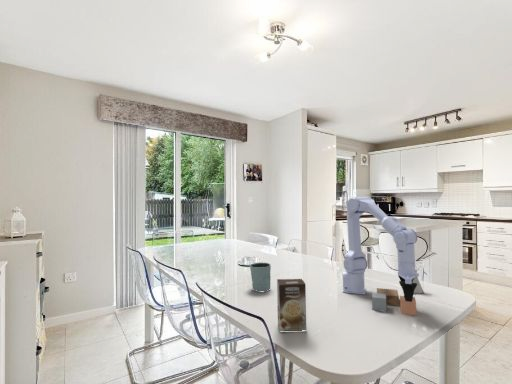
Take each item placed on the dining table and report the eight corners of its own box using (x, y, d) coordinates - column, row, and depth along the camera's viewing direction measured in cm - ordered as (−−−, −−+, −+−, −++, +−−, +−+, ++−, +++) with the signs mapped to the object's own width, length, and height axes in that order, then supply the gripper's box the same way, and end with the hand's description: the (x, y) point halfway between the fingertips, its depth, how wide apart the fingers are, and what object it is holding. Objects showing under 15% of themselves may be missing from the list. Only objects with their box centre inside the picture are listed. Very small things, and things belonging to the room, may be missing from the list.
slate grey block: (372, 309, 109) (371, 297, 109) (372, 305, 114) (372, 292, 114) (386, 311, 107) (386, 298, 107) (386, 306, 112) (385, 294, 112)
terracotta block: (401, 313, 105) (400, 300, 105) (400, 308, 109) (400, 295, 110) (416, 315, 103) (415, 301, 103) (415, 310, 107) (414, 297, 107)
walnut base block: (377, 304, 115) (377, 294, 115) (377, 297, 122) (376, 288, 122) (399, 306, 112) (398, 296, 112) (397, 299, 119) (397, 289, 119)
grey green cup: (269, 293, 131) (268, 267, 131) (248, 292, 133) (247, 267, 133) (272, 286, 141) (272, 262, 141) (253, 285, 143) (252, 262, 143)
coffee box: (279, 333, 93) (278, 284, 93) (277, 324, 99) (276, 279, 99) (307, 332, 93) (305, 283, 93) (303, 323, 99) (301, 278, 100)
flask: (414, 295, 123) (413, 272, 123) (401, 290, 130) (400, 268, 130) (427, 293, 125) (426, 270, 125) (414, 288, 132) (413, 266, 132)
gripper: (420, 266, 98) (422, 305, 98) (416, 258, 111) (417, 292, 111) (398, 265, 101) (399, 303, 101) (396, 257, 114) (398, 290, 114)
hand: (407, 297), depth 106 cm, fingers open, 7 cm apart
